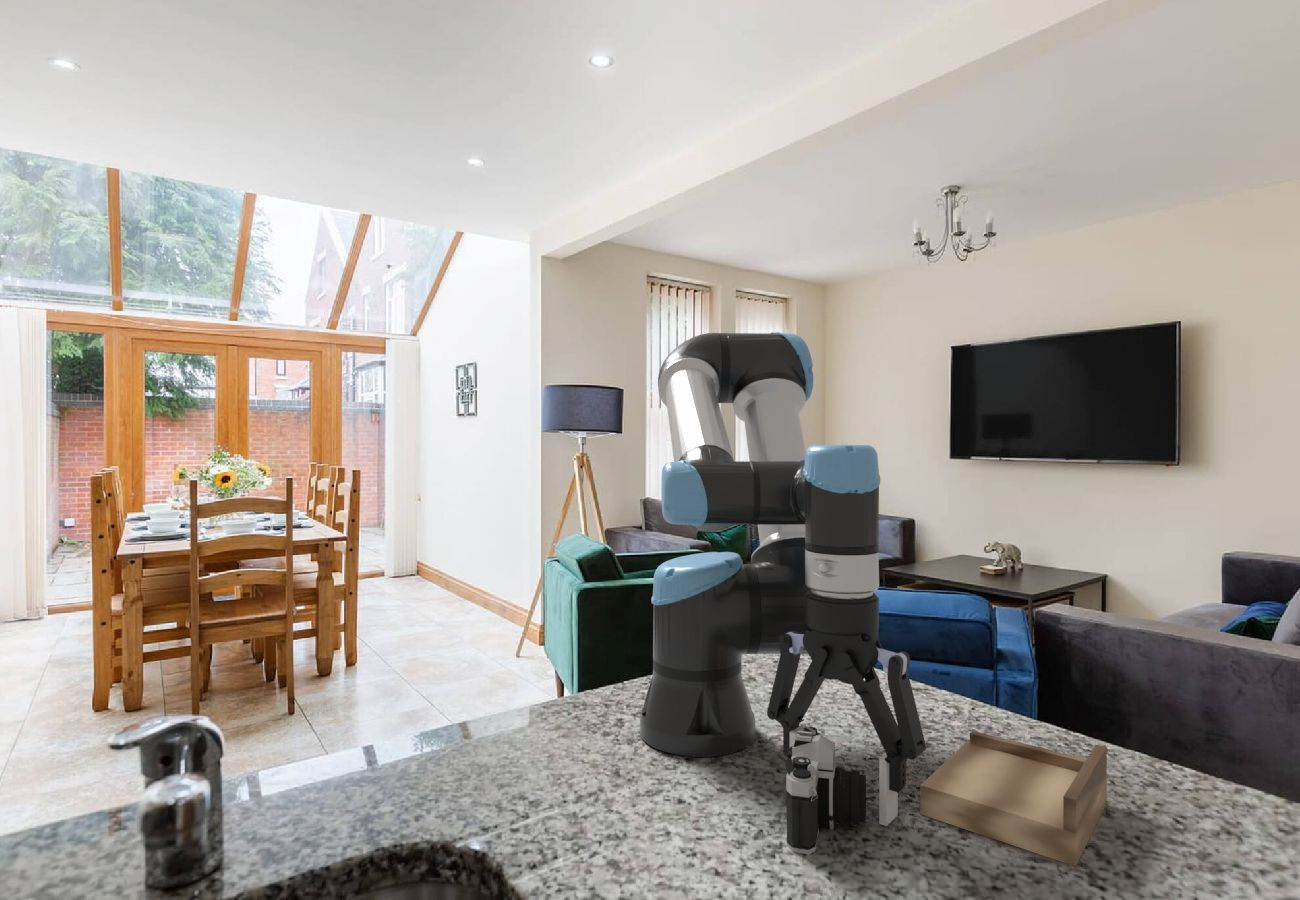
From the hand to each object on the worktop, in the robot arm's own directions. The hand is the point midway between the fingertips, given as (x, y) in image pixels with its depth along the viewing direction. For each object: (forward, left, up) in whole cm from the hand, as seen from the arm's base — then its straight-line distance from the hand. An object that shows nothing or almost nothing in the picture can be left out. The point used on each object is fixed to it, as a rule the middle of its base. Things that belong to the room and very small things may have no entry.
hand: (841, 803), depth 76 cm
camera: (0, -4, 0) cm, 4 cm away
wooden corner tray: (+14, +11, 0) cm, 18 cm away
